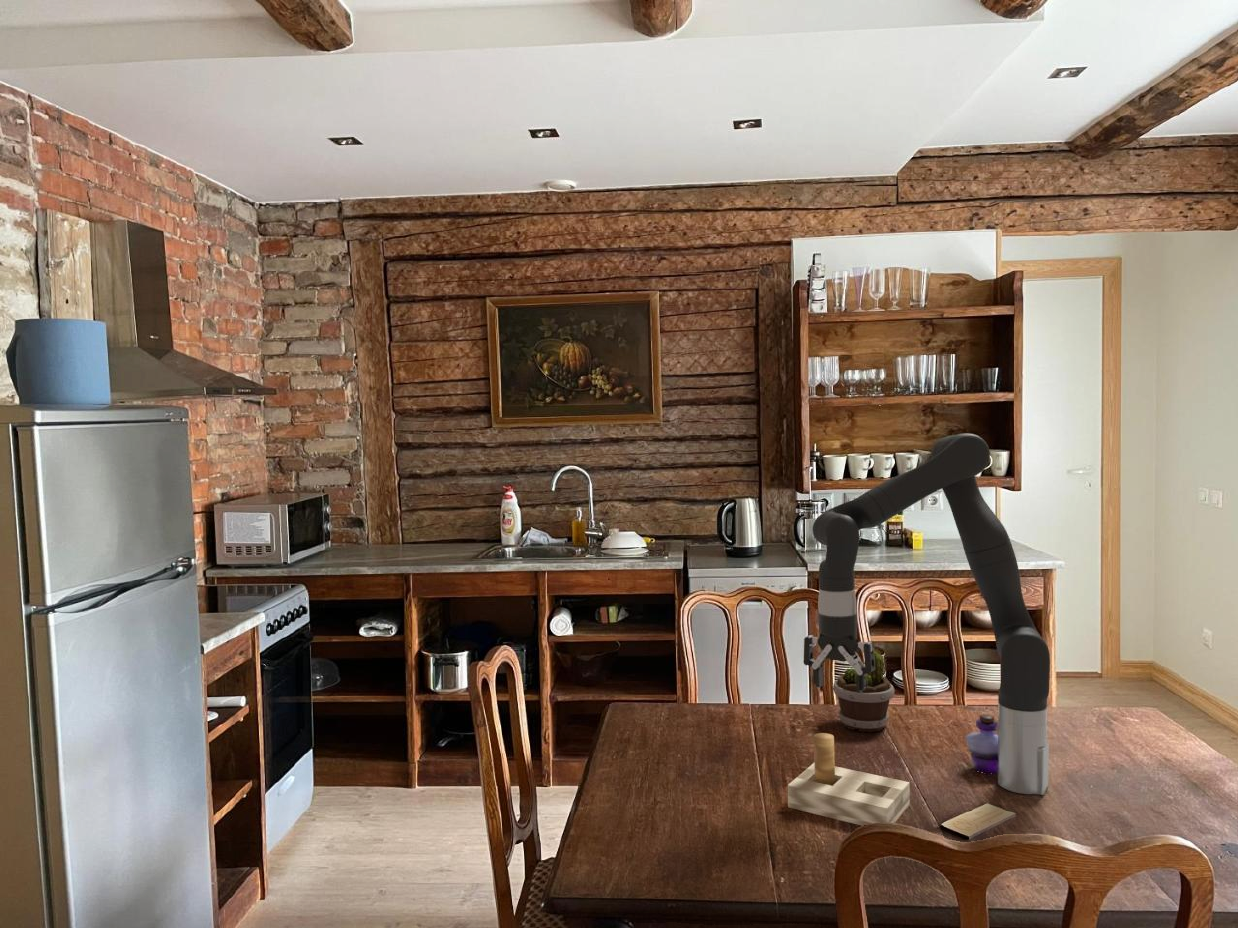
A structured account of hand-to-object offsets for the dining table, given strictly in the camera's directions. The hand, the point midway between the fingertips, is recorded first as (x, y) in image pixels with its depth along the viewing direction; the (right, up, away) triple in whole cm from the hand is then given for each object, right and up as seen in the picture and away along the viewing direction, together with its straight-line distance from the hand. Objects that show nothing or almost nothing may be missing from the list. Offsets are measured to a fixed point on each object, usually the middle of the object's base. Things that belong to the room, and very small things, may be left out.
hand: (839, 689), depth 184 cm
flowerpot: (+16, -20, +41) cm, 49 cm away
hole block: (+1, -22, -4) cm, 23 cm away
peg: (-3, -21, -1) cm, 21 cm away
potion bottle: (+35, -21, +12) cm, 43 cm away
